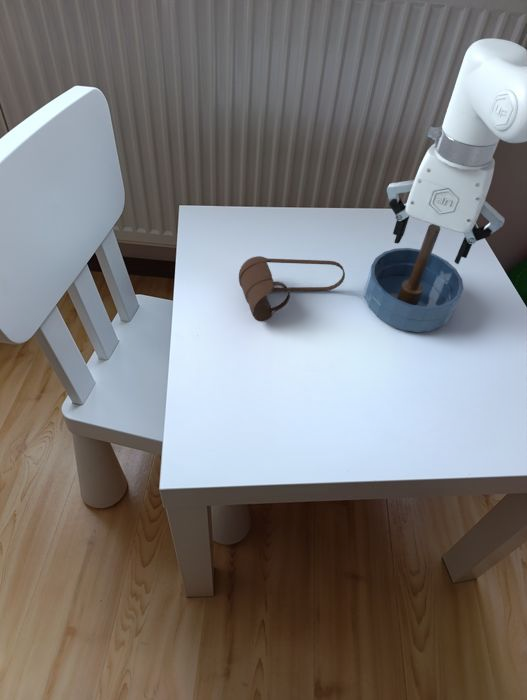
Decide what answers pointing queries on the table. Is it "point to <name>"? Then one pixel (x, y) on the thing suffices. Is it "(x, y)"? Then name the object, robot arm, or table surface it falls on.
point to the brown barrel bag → (271, 284)
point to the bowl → (435, 299)
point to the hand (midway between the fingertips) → (428, 248)
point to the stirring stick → (419, 269)
